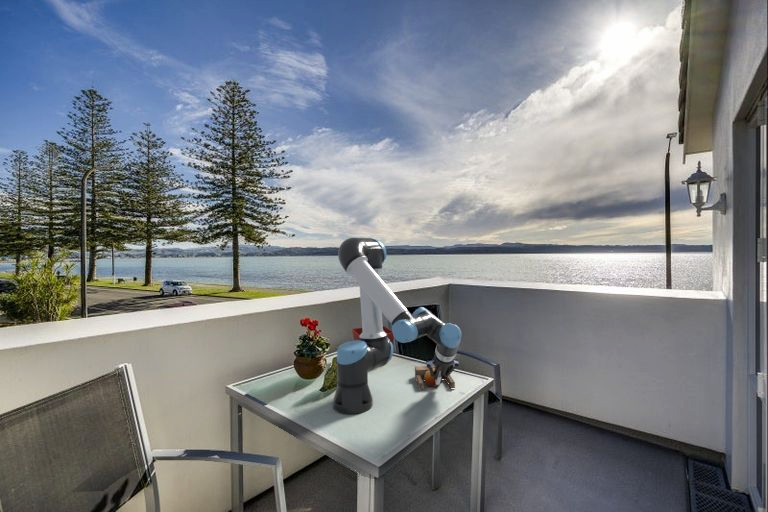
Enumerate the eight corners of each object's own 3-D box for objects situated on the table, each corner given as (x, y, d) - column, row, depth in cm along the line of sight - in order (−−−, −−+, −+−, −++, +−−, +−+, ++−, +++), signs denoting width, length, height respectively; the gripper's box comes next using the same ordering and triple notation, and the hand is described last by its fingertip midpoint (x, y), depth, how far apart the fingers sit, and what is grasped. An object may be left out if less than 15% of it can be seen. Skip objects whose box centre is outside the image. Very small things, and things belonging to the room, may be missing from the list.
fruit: (445, 385, 140) (435, 368, 141) (429, 393, 142) (420, 376, 143) (447, 379, 148) (438, 363, 149) (432, 386, 150) (423, 370, 151)
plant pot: (352, 358, 185) (351, 328, 185) (384, 354, 191) (384, 325, 191) (360, 369, 167) (359, 335, 167) (395, 364, 173) (395, 332, 173)
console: (416, 380, 150) (416, 369, 150) (414, 376, 155) (414, 366, 155) (449, 379, 151) (448, 368, 151) (446, 375, 156) (446, 365, 156)
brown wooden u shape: (419, 390, 139) (419, 383, 139) (416, 380, 150) (416, 374, 150) (454, 389, 140) (454, 382, 140) (449, 379, 151) (448, 373, 151)
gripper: (429, 363, 121) (423, 390, 138) (464, 362, 122) (454, 389, 138) (426, 345, 126) (420, 373, 143) (460, 344, 127) (450, 372, 144)
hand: (437, 381), depth 141 cm, fingers closed
